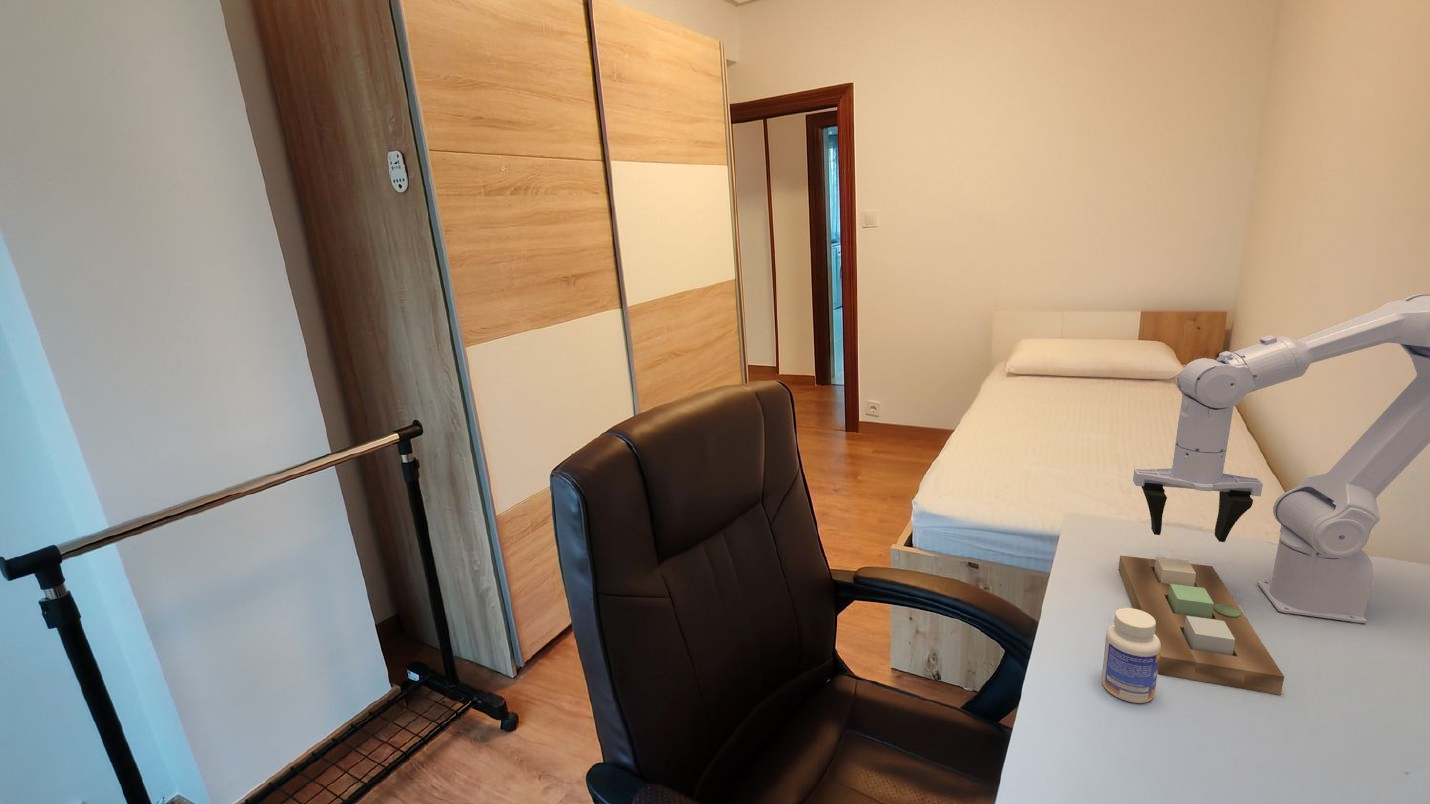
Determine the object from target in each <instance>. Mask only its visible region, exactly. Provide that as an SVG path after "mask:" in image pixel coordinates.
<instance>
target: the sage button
mask: <svg viewBox="0 0 1430 804" xmlns="http://www.w3.org/2000/svg"><path fill="white" fill-rule="evenodd" d="M1167 602H1168V604H1169V606H1170V608H1171V610H1172V612H1173V613H1175V614H1182V615H1189V616H1196V617H1203V618H1210V619H1212V613H1213V607H1214V603H1213V601H1212V600H1211V598H1210V596H1209V595H1208V593H1207V591H1206V590H1205V588H1200V587H1192V586H1184V585H1176V584H1170V587H1169V594H1168V601H1167Z"/></svg>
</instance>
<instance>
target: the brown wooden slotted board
mask: <svg viewBox="0 0 1430 804" xmlns="http://www.w3.org/2000/svg"><path fill="white" fill-rule="evenodd" d="M1155 561H1156V558H1155V559H1154V558H1145V557H1139V556H1137V557H1136V556H1130V555H1119V563H1118V572H1119V575H1120V578H1121V581H1122V583H1123V585H1124V588H1125V591H1126V593H1127V596H1128V599H1129V601H1130V603H1131V607H1132V608H1133V609H1138V610H1141V611H1144V612H1146V613H1148V614H1150V615H1151V616H1152V617H1153V618H1154V619H1155V621H1156V627H1155V635H1156V636H1157V637H1158V638H1159V640H1160V643H1161V648H1160V657H1159V665H1158V672H1157V675H1162V676H1169V677H1173V678H1179V679H1185V680H1186V679H1187V680H1192V681H1196V682H1197V681H1198V682H1202V683H1210V684H1215V685H1219V686H1227V687H1233V688H1238V689H1244V690H1248V691H1249V690H1250V691H1256V692H1260V693H1261V692H1262V693H1267V694H1272V695H1278V696H1281V694H1282V692H1283V691H1282V689H1283V687H1284V686H1283V685H1284V680H1285V675H1284V673H1282V670H1281V669H1280V668H1279V666H1278V665H1277V663H1276V661H1275V659H1273V657H1272V656H1271V654H1270V652H1269V650H1267V648H1266V646H1265V644H1264V643H1263V641H1262V640H1261V639H1260V637H1259V635H1258V634H1257V631H1255V629H1254V628H1253V626H1252V625H1251V623H1250V622H1249V619H1248V618H1247V617H1246V616H1245V614H1244V613H1243V611H1242V609H1241V608H1240V606H1239V605H1238V603H1237V602H1236V600H1235V598H1234V597H1233V595H1232V594H1231V593H1230V591H1229V589H1228V588H1227V587H1226V585H1225V583H1224V582H1223V580H1222V578H1221V577H1220V575H1219V574H1218V573H1217V571H1216V570H1215V568H1214V566H1212V565H1205V564H1198V563H1190V564H1191V566H1192V568H1193V569H1194V571H1195V573H1196V577H1195V583H1194V587H1200V588H1205V590H1206V591H1207V593H1208V595H1209V596H1210V598H1211V600H1212V601H1213V603H1214V607H1213V613H1212V619H1213V620H1220V621H1224V622H1225V623H1226V625H1227V627H1228V628H1229V630H1230V632H1231V633H1232V635H1233V637H1234V638H1235V644H1234V650H1233V655H1232V656H1230V655H1224V654H1218V653H1211V652H1205V651H1199V650H1192V649H1190V648H1189V646H1188V644H1187V641H1186V639H1185V637H1184V635H1183V633H1184V626H1185V620H1186V616H1189V615H1182V614H1175V613H1173V612H1172V610H1171V608H1170V606H1169V604H1168V602H1167V601H1168V594H1169V587H1170V584H1164V583H1158V581H1157V579H1156V576H1155V574H1154V569H1155ZM1192 617H1196V616H1192ZM1199 618H1203V617H1199ZM1206 619H1210V618H1206Z"/></svg>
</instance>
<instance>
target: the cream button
mask: <svg viewBox="0 0 1430 804" xmlns="http://www.w3.org/2000/svg"><path fill="white" fill-rule="evenodd" d="M1155 559H1156V561H1155V569H1154V574H1155V576H1156V579H1157V581H1158V583H1164V584H1176V585H1184V586H1192V587H1194V583H1195V577H1196V573H1195V571H1194V569H1193V568H1192V566H1191V564H1192V563H1191V562H1190V561H1189V559H1181V558H1173V557H1164V556H1155Z"/></svg>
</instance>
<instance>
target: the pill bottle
mask: <svg viewBox="0 0 1430 804" xmlns="http://www.w3.org/2000/svg"><path fill="white" fill-rule="evenodd" d="M1113 622H1114V623H1113V624H1111V625H1110V626H1109V627H1108V628H1107V630H1106V633H1105V634H1106V635H1105V643H1104V644H1105V645H1104V656H1103V662H1102V663H1103V664H1102V673H1101V683H1102V685H1103V687H1104V688H1105V690H1106V691H1107V692H1108V693H1109V694H1111V695H1112V696H1114V697H1116V698H1117V699H1121V700H1123V701H1125V702H1128V703H1135V704H1144V703H1145V704H1146V703H1149V702H1151V701H1152V700H1153V699H1154V696H1155V692H1156V686H1157V685H1156V684H1157V678H1158V665H1159V657H1160V648H1161V643H1160V640H1159V638H1158V637H1157V636H1156V635H1155V627H1156V621H1155V619H1154V618H1153V617H1152V616H1151V615H1150V614H1148V613H1146V612H1144V611H1141V610H1138V609H1133V607H1132V608H1131V607H1122V608H1119V609H1117V610H1116V611H1115V613H1114V619H1113Z"/></svg>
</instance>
